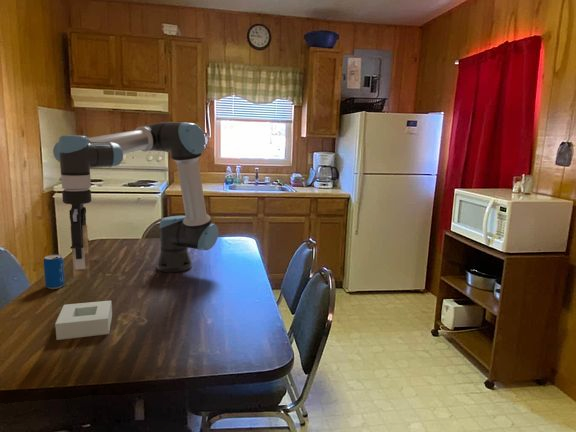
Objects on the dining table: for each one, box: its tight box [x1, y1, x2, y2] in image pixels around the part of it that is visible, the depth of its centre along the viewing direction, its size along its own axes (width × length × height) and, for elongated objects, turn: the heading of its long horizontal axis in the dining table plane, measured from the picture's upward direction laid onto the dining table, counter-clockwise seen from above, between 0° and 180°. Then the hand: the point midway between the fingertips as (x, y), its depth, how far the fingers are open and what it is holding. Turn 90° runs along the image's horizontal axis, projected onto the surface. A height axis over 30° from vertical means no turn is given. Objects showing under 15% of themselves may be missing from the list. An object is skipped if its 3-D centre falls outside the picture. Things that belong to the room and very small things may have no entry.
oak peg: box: [70, 224, 91, 281], centre depth 124 cm, size 4×4×16 cm
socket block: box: [54, 300, 113, 341], centre depth 129 cm, size 14×14×5 cm
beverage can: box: [43, 254, 66, 290], centre depth 159 cm, size 6×6×12 cm
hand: (81, 266), depth 125 cm, fingers closed on oak peg, 4 cm apart
